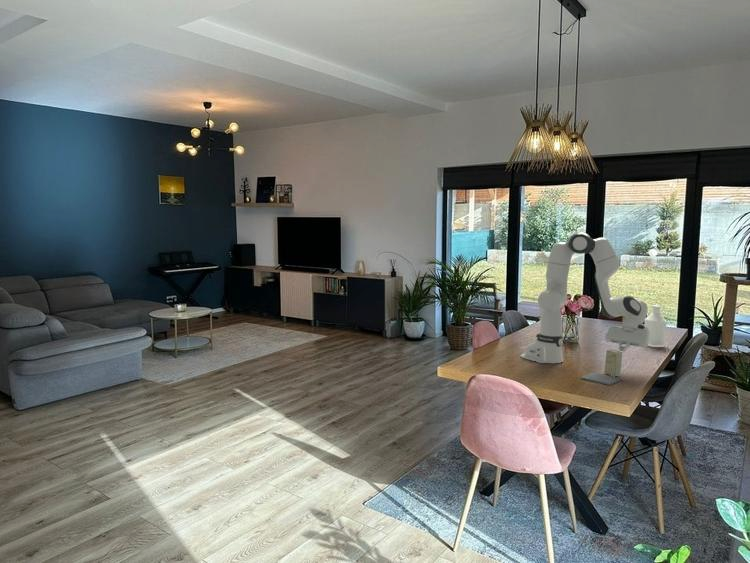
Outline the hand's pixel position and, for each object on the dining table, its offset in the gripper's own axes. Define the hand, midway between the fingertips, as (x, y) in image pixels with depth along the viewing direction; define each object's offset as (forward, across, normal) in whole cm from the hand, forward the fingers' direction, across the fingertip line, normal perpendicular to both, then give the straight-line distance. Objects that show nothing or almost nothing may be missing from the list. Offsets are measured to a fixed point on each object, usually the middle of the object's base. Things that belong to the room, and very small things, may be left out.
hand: (621, 350), depth 269 cm
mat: (+22, 0, -6) cm, 23 cm away
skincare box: (+14, 0, +2) cm, 14 cm away
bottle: (-48, -13, +64) cm, 82 cm away
